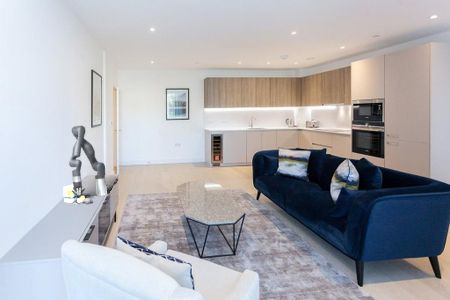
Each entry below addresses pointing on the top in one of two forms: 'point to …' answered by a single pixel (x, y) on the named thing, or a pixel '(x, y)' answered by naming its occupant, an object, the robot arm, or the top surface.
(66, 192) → the tea box
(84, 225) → the top surface
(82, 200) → the plate
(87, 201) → the grey rounded-end block
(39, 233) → the top surface
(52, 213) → the top surface
